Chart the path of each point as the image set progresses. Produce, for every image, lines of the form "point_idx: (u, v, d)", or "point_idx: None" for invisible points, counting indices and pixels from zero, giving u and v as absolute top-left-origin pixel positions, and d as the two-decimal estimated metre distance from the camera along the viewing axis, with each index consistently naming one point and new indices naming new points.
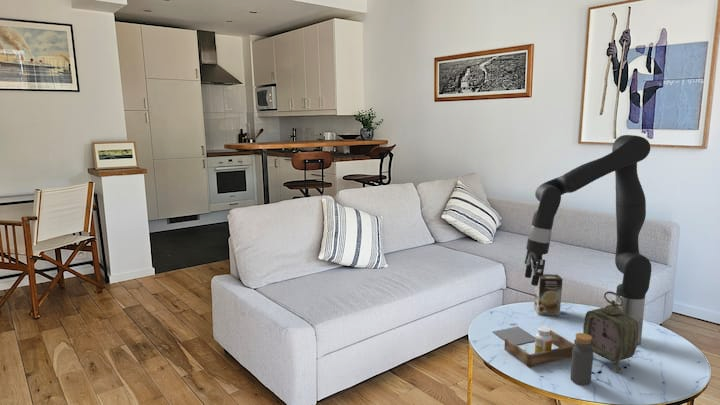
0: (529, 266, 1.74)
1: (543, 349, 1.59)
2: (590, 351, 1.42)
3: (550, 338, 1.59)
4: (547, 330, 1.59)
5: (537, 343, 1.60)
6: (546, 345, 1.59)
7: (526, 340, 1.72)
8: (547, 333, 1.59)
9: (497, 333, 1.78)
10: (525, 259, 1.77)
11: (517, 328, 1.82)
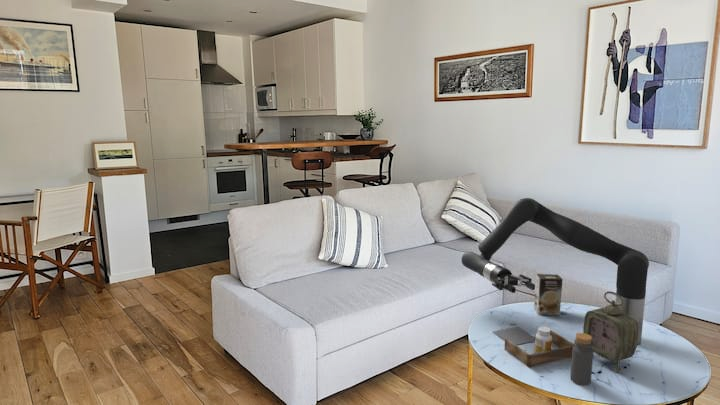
0: (525, 283, 1.74)
1: (543, 349, 1.59)
2: (590, 351, 1.42)
3: (550, 338, 1.59)
4: (547, 330, 1.59)
5: (537, 343, 1.60)
6: (546, 345, 1.59)
7: (526, 340, 1.72)
8: (547, 333, 1.59)
9: (497, 333, 1.78)
10: None
11: (517, 328, 1.82)
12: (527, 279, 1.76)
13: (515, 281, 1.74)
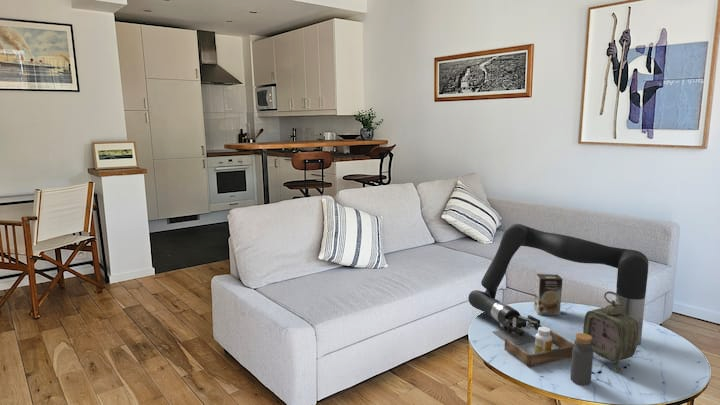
0: (534, 325, 1.72)
1: (543, 349, 1.59)
2: (590, 351, 1.42)
3: (550, 338, 1.59)
4: (547, 330, 1.59)
5: (537, 343, 1.60)
6: (546, 345, 1.59)
7: (526, 340, 1.72)
8: (547, 333, 1.59)
9: (497, 333, 1.78)
10: None
11: None
12: (535, 321, 1.73)
13: (523, 323, 1.72)
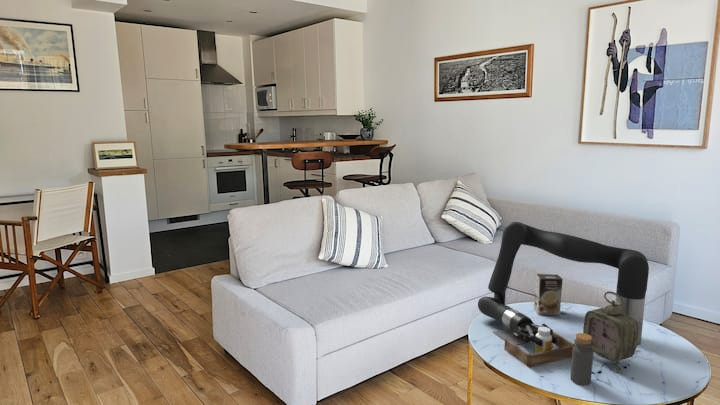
0: None
1: (543, 349, 1.59)
2: (590, 351, 1.42)
3: (550, 338, 1.59)
4: (547, 330, 1.59)
5: None
6: (546, 345, 1.59)
7: None
8: (547, 333, 1.59)
9: (497, 333, 1.78)
10: None
11: None
12: None
13: (535, 331, 1.65)
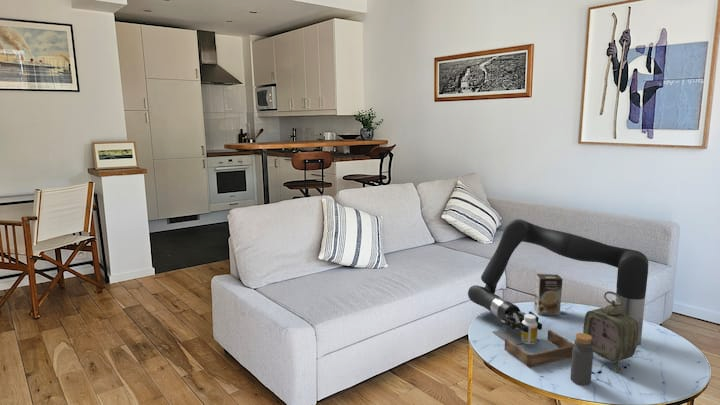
0: None
1: (529, 335, 1.66)
2: (590, 351, 1.42)
3: (535, 325, 1.66)
4: (533, 317, 1.66)
5: None
6: (531, 331, 1.65)
7: None
8: (533, 320, 1.65)
9: (497, 333, 1.78)
10: None
11: None
12: None
13: (521, 319, 1.72)
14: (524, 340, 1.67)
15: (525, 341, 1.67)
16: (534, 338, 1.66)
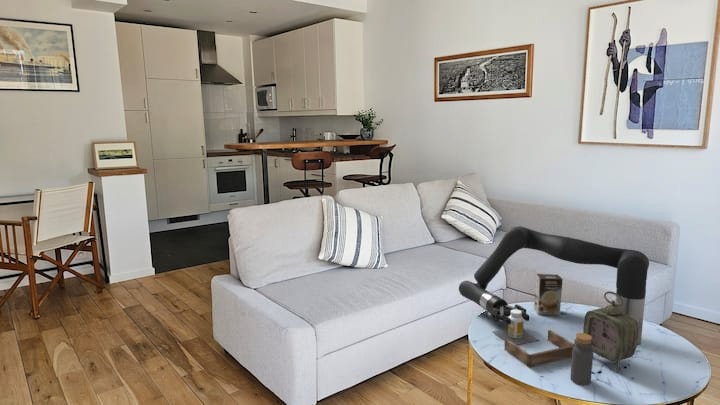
0: None
1: (515, 329, 1.73)
2: (590, 351, 1.42)
3: (521, 319, 1.73)
4: (519, 312, 1.73)
5: (510, 324, 1.74)
6: (517, 326, 1.73)
7: (526, 340, 1.72)
8: (518, 315, 1.73)
9: (497, 333, 1.78)
10: None
11: None
12: (522, 310, 1.80)
13: (510, 312, 1.79)
14: (511, 334, 1.74)
15: (512, 335, 1.74)
16: (520, 332, 1.73)
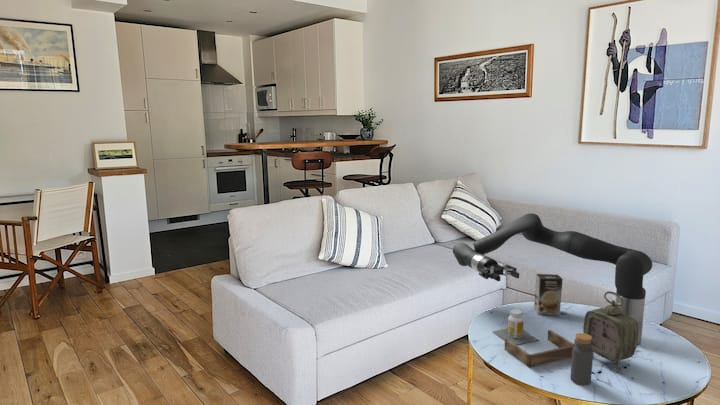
0: (510, 272, 1.82)
1: (515, 329, 1.73)
2: (590, 351, 1.42)
3: (521, 319, 1.73)
4: (519, 312, 1.73)
5: (510, 324, 1.74)
6: (517, 326, 1.73)
7: (526, 340, 1.72)
8: (518, 315, 1.73)
9: (497, 333, 1.78)
10: None
11: None
12: (512, 268, 1.84)
13: (501, 270, 1.83)
14: (511, 334, 1.74)
15: (512, 335, 1.74)
16: (520, 332, 1.73)
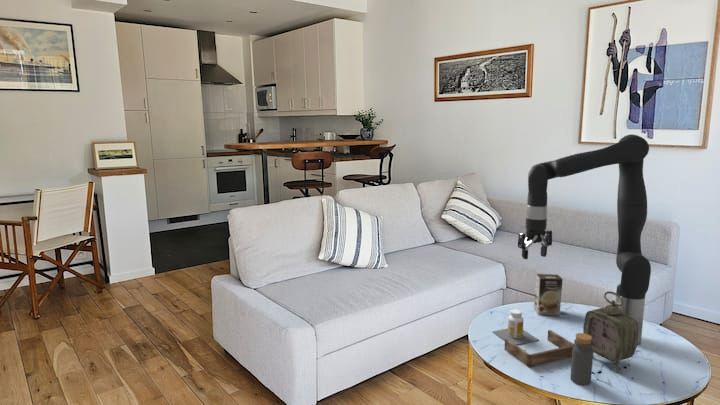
0: (543, 245, 1.81)
1: (515, 329, 1.73)
2: (590, 351, 1.42)
3: (521, 319, 1.73)
4: (519, 312, 1.73)
5: (510, 324, 1.74)
6: (517, 326, 1.73)
7: (526, 340, 1.72)
8: (518, 315, 1.73)
9: (497, 333, 1.78)
10: None
11: None
12: (548, 242, 1.80)
13: None
14: (511, 334, 1.74)
15: (512, 335, 1.74)
16: (520, 332, 1.73)
